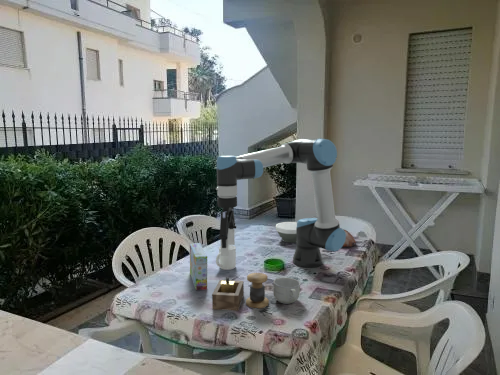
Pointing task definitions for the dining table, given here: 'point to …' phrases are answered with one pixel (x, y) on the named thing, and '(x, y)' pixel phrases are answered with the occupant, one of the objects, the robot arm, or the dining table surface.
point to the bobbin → (257, 291)
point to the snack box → (198, 266)
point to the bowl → (287, 231)
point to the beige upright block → (227, 286)
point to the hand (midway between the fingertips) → (228, 250)
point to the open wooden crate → (228, 297)
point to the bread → (349, 240)
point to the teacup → (286, 290)
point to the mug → (227, 259)
